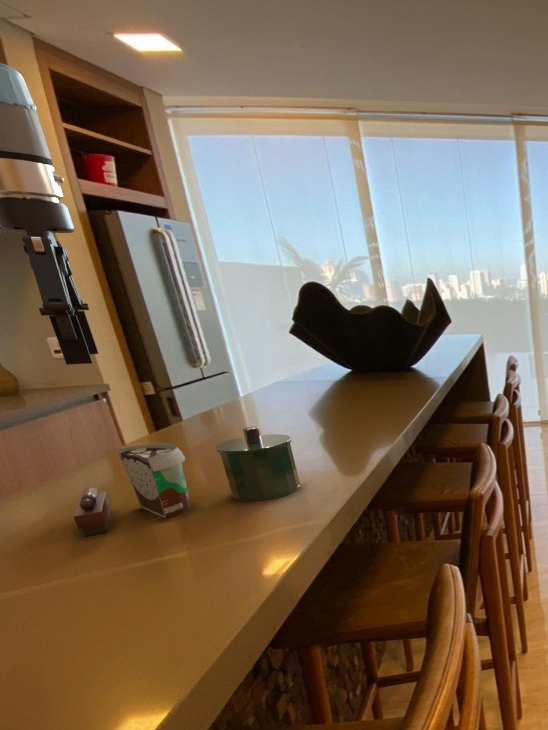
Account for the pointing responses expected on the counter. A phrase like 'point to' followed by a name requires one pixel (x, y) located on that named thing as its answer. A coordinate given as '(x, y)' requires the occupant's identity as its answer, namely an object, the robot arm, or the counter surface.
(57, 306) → the robot arm
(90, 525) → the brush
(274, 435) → the pot lid
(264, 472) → the pot
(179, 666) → the counter surface
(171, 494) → the food container
